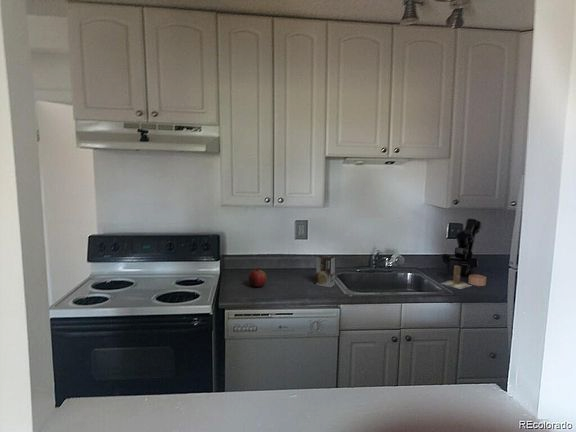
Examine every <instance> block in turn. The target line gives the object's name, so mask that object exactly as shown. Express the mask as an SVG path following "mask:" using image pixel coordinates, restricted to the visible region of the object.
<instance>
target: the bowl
mask: <svg viewBox="0 0 576 432" xmlns="http://www.w3.org/2000/svg"><path fill="white" fill-rule="evenodd" d="M467 284H469V285H471V286H477V287H484V286H486V284H487V277H486V276H485V275H481V274H473V273H472V274H471V275H469V277H468V283H467Z"/></svg>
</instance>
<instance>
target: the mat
mask: <svg viewBox="0 0 576 432" xmlns="http://www.w3.org/2000/svg"><path fill="white" fill-rule="evenodd" d="M440 284H441V285H445V286H447V287H452V286H449V285H446V284H445V282H441V283H440ZM469 287H472V284H469V283H467V287H464V288H459V287H454V288H455V289H459V290H462V289H465V288H469ZM452 288H453V287H452Z"/></svg>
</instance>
